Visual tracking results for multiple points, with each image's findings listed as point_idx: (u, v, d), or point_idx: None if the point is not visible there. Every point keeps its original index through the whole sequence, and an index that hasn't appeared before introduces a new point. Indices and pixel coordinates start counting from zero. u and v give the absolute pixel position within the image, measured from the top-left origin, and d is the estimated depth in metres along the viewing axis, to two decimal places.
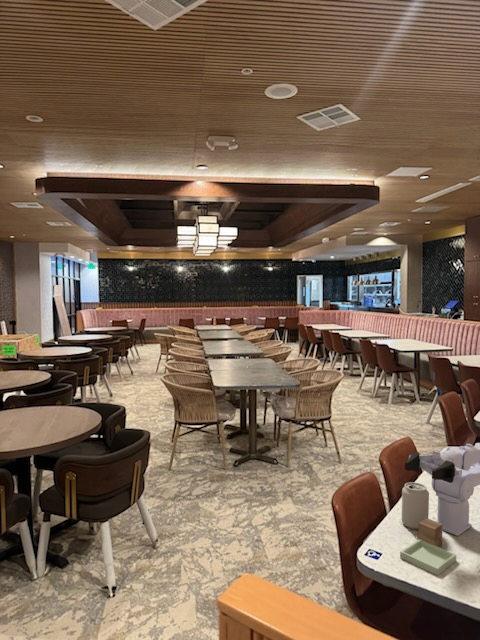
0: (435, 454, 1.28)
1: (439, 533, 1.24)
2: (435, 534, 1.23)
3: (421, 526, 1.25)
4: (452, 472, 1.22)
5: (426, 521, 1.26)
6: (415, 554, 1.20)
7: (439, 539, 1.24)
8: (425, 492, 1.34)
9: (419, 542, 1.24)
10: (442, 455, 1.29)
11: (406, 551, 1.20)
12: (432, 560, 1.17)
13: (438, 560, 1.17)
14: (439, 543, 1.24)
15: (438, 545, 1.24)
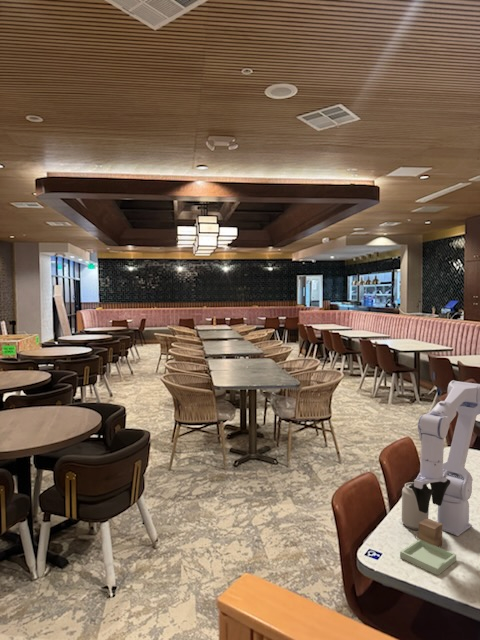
0: None
1: (439, 533, 1.24)
2: (435, 534, 1.23)
3: (421, 526, 1.25)
4: None
5: (426, 521, 1.26)
6: (415, 554, 1.20)
7: (439, 539, 1.24)
8: None
9: (419, 542, 1.24)
10: (442, 470, 1.23)
11: (406, 551, 1.20)
12: (432, 560, 1.17)
13: (438, 560, 1.17)
14: (439, 543, 1.24)
15: (438, 545, 1.24)
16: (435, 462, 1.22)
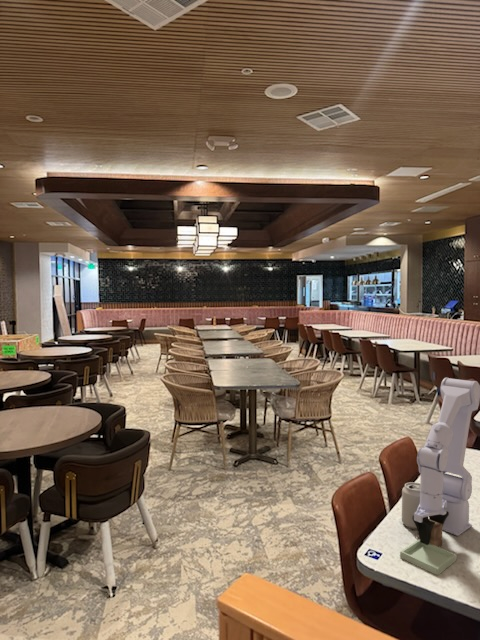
0: None
1: (439, 533, 1.24)
2: (435, 534, 1.23)
3: None
4: None
5: None
6: (415, 554, 1.20)
7: (439, 539, 1.24)
8: None
9: (419, 542, 1.24)
10: (442, 502, 1.23)
11: (406, 551, 1.20)
12: (432, 560, 1.17)
13: (438, 560, 1.17)
14: (439, 543, 1.24)
15: (438, 545, 1.24)
16: (434, 495, 1.22)
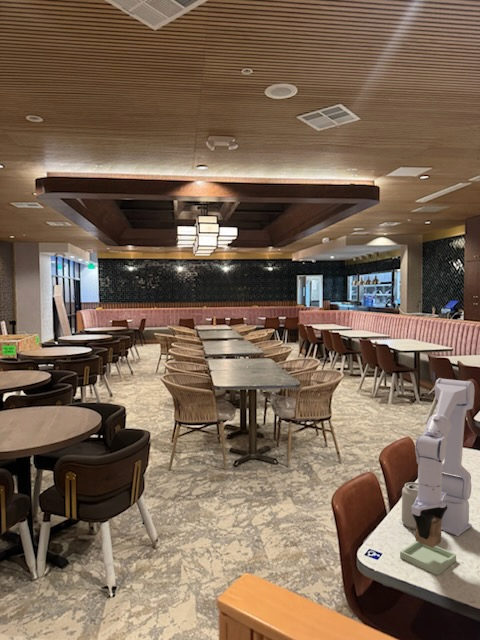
0: None
1: (438, 529, 1.17)
2: (434, 530, 1.15)
3: None
4: None
5: None
6: (415, 554, 1.20)
7: (438, 535, 1.17)
8: None
9: (419, 542, 1.24)
10: (441, 494, 1.16)
11: (406, 551, 1.20)
12: (432, 560, 1.17)
13: (438, 560, 1.17)
14: (438, 539, 1.17)
15: (437, 541, 1.17)
16: (433, 487, 1.15)
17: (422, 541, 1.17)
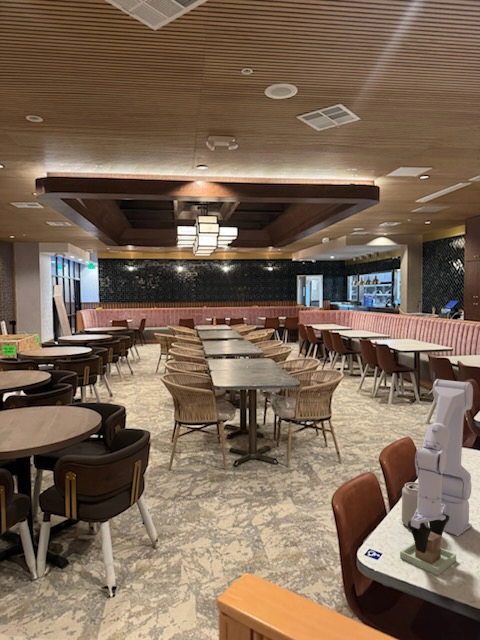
0: None
1: (437, 545, 1.17)
2: (433, 546, 1.16)
3: None
4: None
5: None
6: None
7: (437, 551, 1.17)
8: None
9: None
10: (441, 507, 1.16)
11: (406, 551, 1.20)
12: None
13: (438, 560, 1.17)
14: (437, 556, 1.17)
15: (436, 558, 1.17)
16: (433, 499, 1.15)
17: (421, 557, 1.17)
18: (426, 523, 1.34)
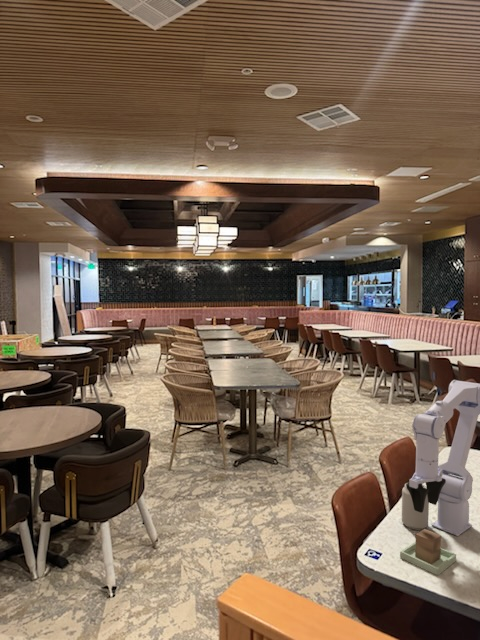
0: None
1: (437, 545, 1.17)
2: (433, 546, 1.16)
3: (418, 537, 1.18)
4: None
5: (423, 532, 1.19)
6: None
7: (437, 551, 1.17)
8: None
9: None
10: (437, 469, 1.23)
11: (406, 551, 1.20)
12: None
13: (438, 560, 1.17)
14: (437, 556, 1.17)
15: (436, 558, 1.17)
16: (430, 462, 1.22)
17: (421, 557, 1.17)
18: (426, 523, 1.34)
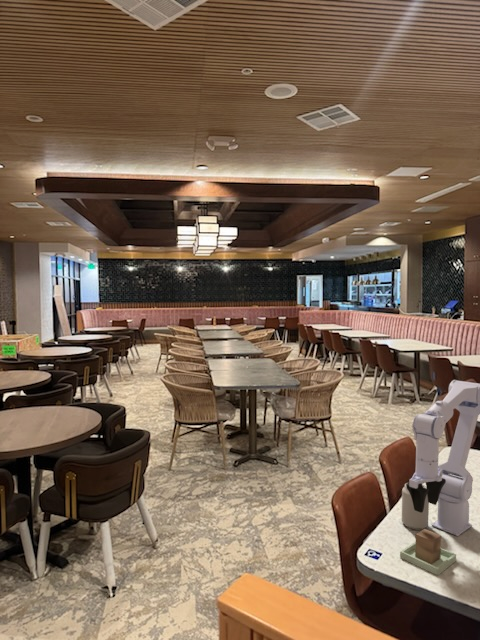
0: None
1: (437, 545, 1.17)
2: (433, 546, 1.16)
3: (418, 537, 1.18)
4: None
5: (423, 532, 1.19)
6: None
7: (437, 551, 1.17)
8: None
9: None
10: (437, 469, 1.23)
11: (406, 551, 1.20)
12: None
13: (438, 560, 1.17)
14: (437, 556, 1.17)
15: (436, 558, 1.17)
16: (430, 462, 1.22)
17: (421, 557, 1.17)
18: (426, 523, 1.34)
